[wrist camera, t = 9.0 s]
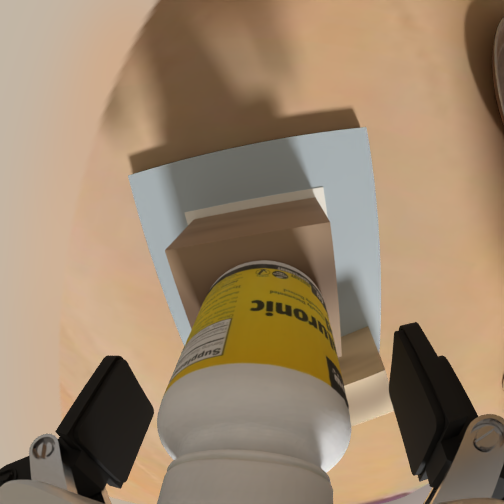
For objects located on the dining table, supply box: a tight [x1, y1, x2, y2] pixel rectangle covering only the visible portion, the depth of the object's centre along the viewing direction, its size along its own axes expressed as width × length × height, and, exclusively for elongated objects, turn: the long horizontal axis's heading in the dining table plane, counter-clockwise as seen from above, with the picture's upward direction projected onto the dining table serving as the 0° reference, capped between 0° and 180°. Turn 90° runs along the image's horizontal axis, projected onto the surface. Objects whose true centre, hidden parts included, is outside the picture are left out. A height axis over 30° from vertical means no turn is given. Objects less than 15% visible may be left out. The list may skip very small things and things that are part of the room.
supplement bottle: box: [157, 260, 351, 504], centre depth 9 cm, size 5×5×10 cm
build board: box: [128, 127, 381, 352], centre depth 19 cm, size 18×14×1 cm
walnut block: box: [165, 197, 342, 357], centre depth 16 cm, size 7×7×5 cm
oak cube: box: [338, 326, 394, 426], centre depth 18 cm, size 4×4×4 cm
